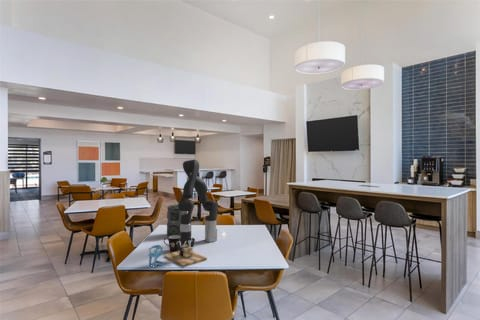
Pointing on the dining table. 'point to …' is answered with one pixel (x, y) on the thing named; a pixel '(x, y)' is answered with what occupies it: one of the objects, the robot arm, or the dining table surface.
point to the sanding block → (186, 252)
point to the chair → (155, 255)
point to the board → (185, 261)
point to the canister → (174, 220)
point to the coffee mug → (173, 242)
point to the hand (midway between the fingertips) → (185, 254)
